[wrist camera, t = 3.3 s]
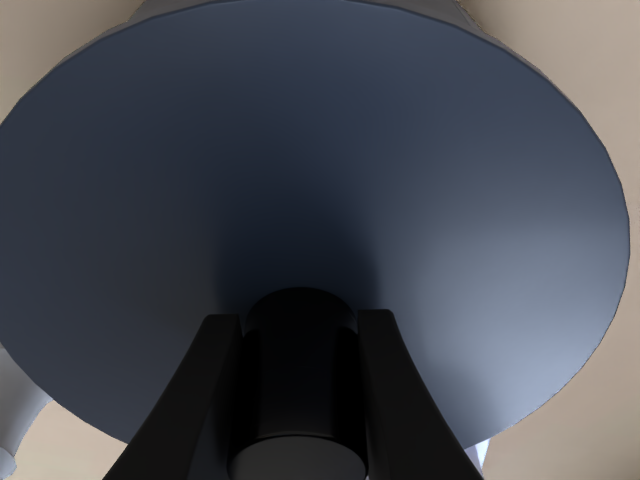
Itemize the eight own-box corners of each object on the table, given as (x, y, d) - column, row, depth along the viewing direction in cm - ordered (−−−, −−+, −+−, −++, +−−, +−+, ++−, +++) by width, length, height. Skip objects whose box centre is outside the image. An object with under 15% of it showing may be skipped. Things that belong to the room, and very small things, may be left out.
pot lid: (533, 440, 17) (590, 606, 13) (99, 452, 17) (44, 618, 13) (720, -44, 8) (1017, 65, 5) (-154, -7, 8) (-479, 123, 5)
